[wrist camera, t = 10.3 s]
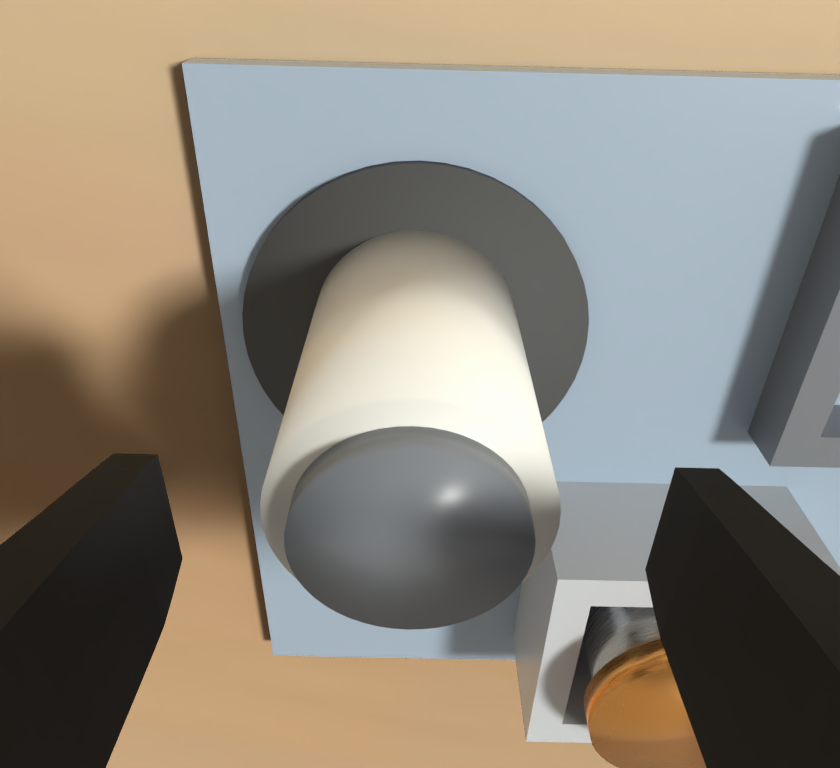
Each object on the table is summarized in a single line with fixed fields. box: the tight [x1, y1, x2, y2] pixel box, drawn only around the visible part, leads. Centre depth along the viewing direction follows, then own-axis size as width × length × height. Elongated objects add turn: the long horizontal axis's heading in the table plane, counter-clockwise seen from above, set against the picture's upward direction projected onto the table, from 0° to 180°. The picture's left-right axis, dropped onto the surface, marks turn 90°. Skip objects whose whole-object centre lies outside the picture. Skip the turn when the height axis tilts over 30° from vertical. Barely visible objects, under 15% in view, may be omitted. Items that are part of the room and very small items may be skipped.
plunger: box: [583, 606, 706, 768], centre depth 16 cm, size 4×4×4 cm
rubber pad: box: [242, 160, 589, 422], centre depth 14 cm, size 7×7×1 cm
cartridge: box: [260, 230, 561, 630], centre depth 11 cm, size 4×4×6 cm
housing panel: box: [182, 58, 840, 743], centre depth 15 cm, size 16×22×4 cm
